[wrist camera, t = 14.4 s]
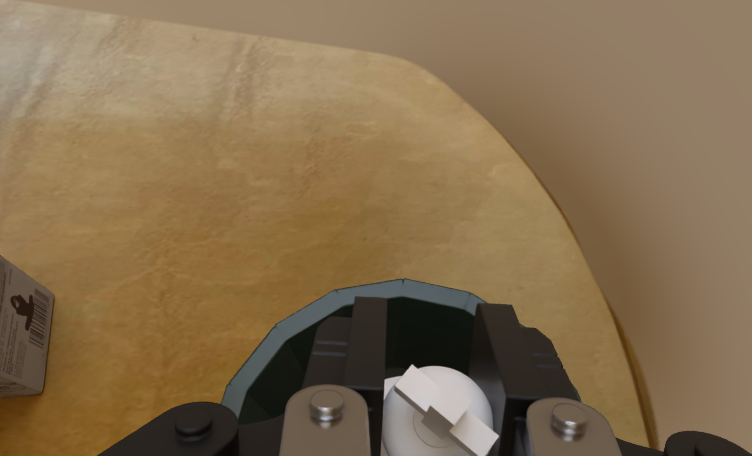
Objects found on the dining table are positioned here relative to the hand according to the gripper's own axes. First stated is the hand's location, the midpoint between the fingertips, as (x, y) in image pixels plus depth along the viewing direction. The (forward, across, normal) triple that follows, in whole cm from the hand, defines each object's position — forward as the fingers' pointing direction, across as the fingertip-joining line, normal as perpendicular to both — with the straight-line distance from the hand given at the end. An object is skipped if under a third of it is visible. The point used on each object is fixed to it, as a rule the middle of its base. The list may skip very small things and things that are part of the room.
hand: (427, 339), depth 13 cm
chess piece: (+3, 0, +6) cm, 6 cm away
